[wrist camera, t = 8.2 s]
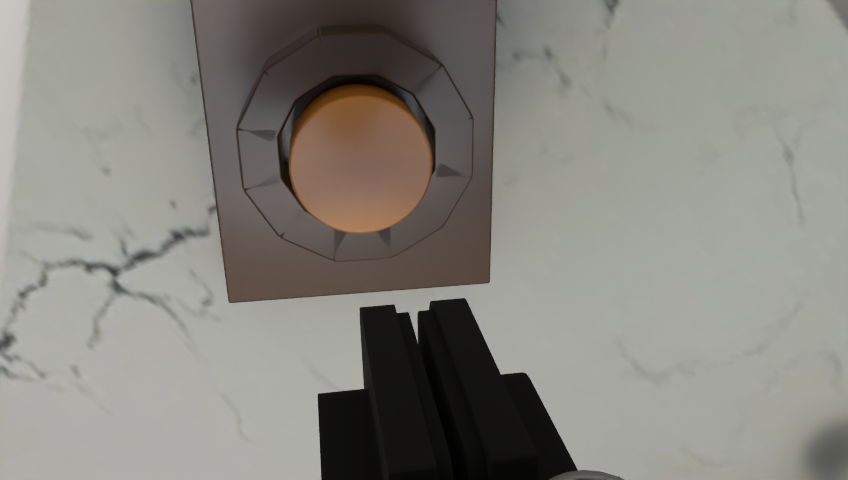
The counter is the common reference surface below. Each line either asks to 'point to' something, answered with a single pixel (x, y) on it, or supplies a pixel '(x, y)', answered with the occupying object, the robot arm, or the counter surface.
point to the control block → (301, 83)
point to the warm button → (359, 159)
